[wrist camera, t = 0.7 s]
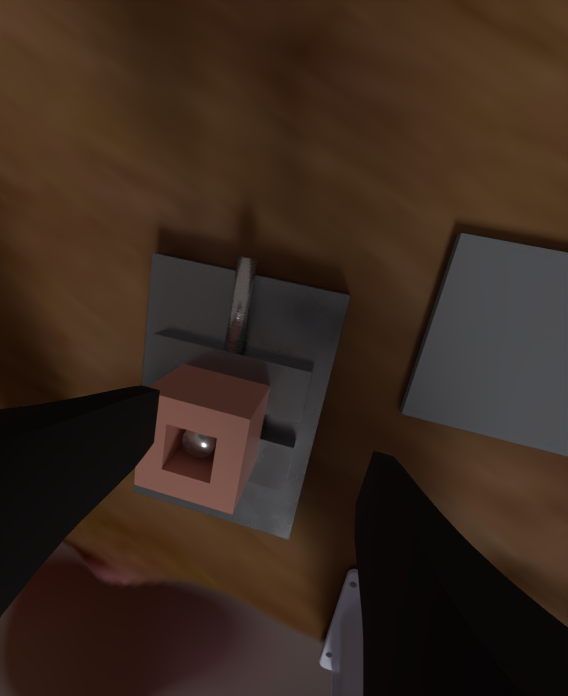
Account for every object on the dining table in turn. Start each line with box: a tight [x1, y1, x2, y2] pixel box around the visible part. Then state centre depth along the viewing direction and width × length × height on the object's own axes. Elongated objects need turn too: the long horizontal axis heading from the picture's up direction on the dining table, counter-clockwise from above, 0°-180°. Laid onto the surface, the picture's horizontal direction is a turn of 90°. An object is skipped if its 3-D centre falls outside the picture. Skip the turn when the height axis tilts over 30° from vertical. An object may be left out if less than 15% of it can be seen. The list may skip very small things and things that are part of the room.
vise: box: [133, 253, 350, 539], centre depth 18 cm, size 17×11×6 cm, turn 169°
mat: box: [400, 233, 568, 456], centre depth 17 cm, size 10×10×1 cm
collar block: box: [134, 364, 270, 515], centre depth 17 cm, size 5×5×4 cm
